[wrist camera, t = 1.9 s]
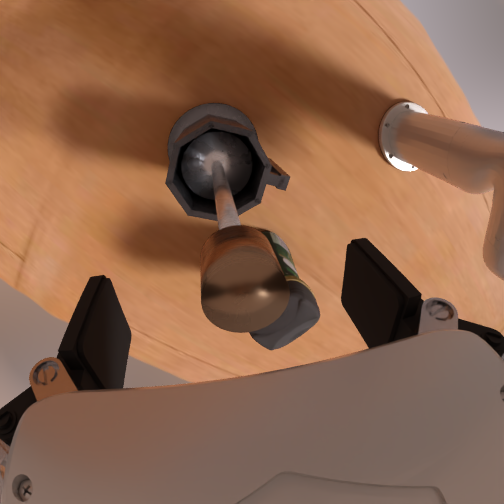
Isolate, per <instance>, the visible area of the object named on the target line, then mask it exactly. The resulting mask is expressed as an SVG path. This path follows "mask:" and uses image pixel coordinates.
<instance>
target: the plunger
mask: <svg viewBox="0 0 504 504" xmlns="http://www.w3.org/2000/svg"><path fill="white" fill-rule="evenodd" d="M251 172H252V157H251V154H250V152H249V150H248V148H247V146H246V145H245V144H244V143H243V142H242V141H241V140H240V139H239V138H238V137H236V136H235V135H232V134H230V133H227V132H222V131H213V132H208V133H205V134H203V135H201V136H199V137H197V138H196V139H195V140H193V141H192V142H191V143H190V145H189V146H188V147H187V149H186V151H185V153H184V156H183V159H182V174H183V178H184V180H185V182H186V184H187V185H188V187H189V188H190V189H191V190H192V191H193V192H194V193H196V194H197V195H199V196H201V197H203V198H206V199H211V200H215V202H216V210H217V218H218V225H219V230H218V231H217V232H215V233H214V234H212V235H211V236H210V237H209V238H208V240H207V241H206V242H205V244H204V246H203V248H202V251H201V256H200V263H201V304H202V309H203V312H204V314H205V315H206V317H207V318H208V319H209V320H210V321H211V322H212V323H213V324H214V325H216V326H217V327H219V328H221V329H224V330H227V331H230V332H239V333H243V332H252V331H256V330H259V329H262V328H264V327H266V326H268V325H270V324H271V323H273V322H274V321H276V320H277V319H278V318H279V317H280V316H281V315H282V313H283V312H284V310H285V309H286V307H287V305H288V302H289V297H290V290H289V285H288V282H287V280H286V278H285V276H284V273H283V271H282V269H281V267H280V265H279V262H278V260H277V258H276V256H275V253H274V251H273V249H272V247H271V244H270V242H269V241H268V239H267V238H266V237H265V235H264V234H262V233H261V232H260V231H258V230H257V229H255V228H252V227H249V226H244V225H241V224H240V220H239V217H238V214H237V210H236V207H235V204H234V200H233V197H232V196H233V195H235V194H237V193H238V192H239V191H241V190H242V189H243V188H244V187H245V185H246V184H247V182H248V180H249V179H250V176H251Z"/></svg>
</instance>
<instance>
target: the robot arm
mask: <svg viewBox="0 0 504 504" xmlns="http://www.w3.org/2000/svg"><path fill="white" fill-rule="evenodd" d="M379 143H380V147H381V151H382V153H383V155H384V157H385V158H386V160H387V161H388V162H389V163H390V164H391V165H392V166H394V167H395V168H397V169H400V170H402V171H413V170H416V169H420V170H422V171H425V172H427V173H429V174H431V175H433V176H435V177H437V178H439V179H441V180H443V181H445V182H447V183H449V184H451V185H453V186H455V187H457V188H459V189H461V190H463V191H465V192H468V193H471V194H483V193H487V192H489V191H492V190H494V194H493V200H492V202H493V203H492V208H491V213H490V218H489V222H488V227H487V231H486V235H485V240H484V244H483V258H484V262H485V264H486V266H487V267H488V268H489V270H490V271H491V272H492V273H494V274H495V275H496V276H498V277H499V278H501V279H502V280H504V132H500V131H496V130H492V129H488V128H484V127H480V126H477V125H473V124H469V123H465V122H461V121H457V120H453V119H449V118H444V117H440V116H435V115H430V114H428V113H427V111H426V110H425V109H424V108H423V107H421V106H420V105H418V104H416V103H412V102H400V103H397V104H395V105H393V106H392V107H391V108H389V110H388V111H387V112H386V113H385V115H384V117H383V119H382V121H381V124H380V129H379ZM421 295H422V294H421V293H420V292H419V291H418V290H417V289H416V288H415V287H414V286H413V285H412V284H411V283H410V281H409V280H408V279H407V278H406V277H405V276H404V275H403V274H402V273H401V272H400V271H399V270H398V269H397V268H396V267H395V266H394V265H393V264H392V263H391V262H390V261H389V260H388V259H387V258H386V257H385V256H384V255H383V254H382V253H381V252H380V251H379V250H378V249H377V248H376V247H375V246H374V245H373V244H372V243H371V242H370V241H369V240H368V239H366V238H361V239H354V240H352V241H351V243H350V244H348V245H347V251H346V261H345V270H344V279H343V287H342V295H341V301H342V305H343V307H344V308H345V310H346V312H347V313H348V315H349V316H350V318H351V320H352V321H353V323H354V324H355V326H356V328H357V329H358V331H359V333H360V334H361V336H362V338H363V339H364V341H365V342H366V344H367V346H368V347H369V349H365V350H362V351H358V352H354V353H351V354H347V355H343V356H339V357H335V358H331V359H327V360H323V361H318V362H314V363H310V364H305V365H300V366H296V367H291V368H286V369H281V370H276V371H270V372H265V373H259V374H253V375H247V376H241V377H235V378H228V379H221V380H213V381H205V382H197V383H188V384H179V385H167V386H155V387H140V388H123V385H124V378H125V371H126V365H127V359H128V354H129V348H130V343H131V330H130V328H129V325H128V323H127V320H126V318H125V316H124V313H123V311H122V308H121V306H120V303H119V301H118V298H117V295H116V293H115V290H114V287H113V285H112V282H111V280H110V278H106V277H105V276H104V275H100V276H93V277H90V279H89V281H88V283H87V285H86V287H85V289H84V291H83V293H82V295H81V297H80V300H79V302H78V304H77V306H76V309H75V311H74V313H73V315H72V318H71V320H70V322H69V325H68V327H67V330H66V332H65V334H64V337H63V339H62V342H61V344H60V347H59V350H58V352H59V353H58V355H57V358H54V357H49V358H45V359H43V360H41V361H39V362H38V363H37V364H36V365H35V366H34V367H33V368H32V370H31V372H30V376H29V380H30V384H31V387H29V388H28V389H27V390H25V391H24V392H22V393H21V394H20V395H18V396H17V397H16V398H14V399H13V400H12V401H10V402H9V403H8V404H6V405H5V406H4V407H2V408H1V409H0V504H504V337H503V335H502V334H501V333H500V332H498V331H497V330H494V329H492V328H489V327H485V326H482V325H478V324H475V323H472V322H468V321H465V320H461V319H458V313H457V310H456V308H455V307H454V306H453V305H452V304H451V303H450V302H448V301H447V300H444V299H441V298H429V299H427V300H425V301H423V300H422V299H421Z"/></svg>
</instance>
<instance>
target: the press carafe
mask: <svg viewBox="0 0 504 504" xmlns="http://www.w3.org/2000/svg"><path fill="white" fill-rule="evenodd" d="M213 131H222V132H227V133H230V134H232V135H235V136H236V137H238V138H239V139H240V140H241V141H242V142H243V143H244V144H245V145H246V146H247V148H248V150H249V152H250V154H251V157H252V172H251V176H250V179H249V180H248V182H247V184H246V185H245V187H244V188H243V189H242V190H241V191H239V192H238V193H237V194H235V195H233V196H232V197H233V200H234V204H235V207H236V210H237V214H238V216H239V215H241V214H242V213H244V212H246V211H247V210H249V209H251V208H253V207H254V206H256V205H258V204H260V203H261V200H262V196H263V193H264V190H265V187H266V184H269V185H273V186H275V187H276V188H277V189H281V190H285V191H286V188H287V185H288V182H289V179H290V176H289V175H288V174H287V173H286V172H284V171H283V170H282V169H281V168H280V167H279V166H278V165H277V164H276V163H275V162H274V161H272V160H271V159H270V158H267V156H266V154H265V152H264V151H263V149H262V147H261V145H260V143H259V142H258V137H257V133H256V130H255V128H254V126H253V124H252V123H251V121H250V120H249V119H248V118H247V116H246V115H244V114H243V113H242V112H241V111H239V110H238V109H236V108H234V107H232V106H229V105H226V104H220V103H208V104H203V105H200V106H197V107H194V108H193V109H191V110H189V111H188V112H186V113H185V114H184V115H182V116H181V117H180V118H179V120H178V121H177V122H176V123H175V125H174V127H173V128H172V131H171V133H170V136H169V140H168V156H169V160H170V164H169V168H168V173H167V178H166V182H165V184H166V185H167V187H168V188H169V189H170V191H171V192H172V194H173V195H174V197H175V198H176V199H177V201H178V202H179V204H180V205H181V206H182V208H183V209H184V211H185V212H186V213H187V215H188V216H194V217H199V218H204V219H209V220H215V221H218V218H217V210H216V202H215V200H211V199H206V198H203V197H201V196H199V195H197V194H196V193H194V192H193V191H192V190H191V189H190V188H189V187H188V185H187V184H186V182H185V180H184V178H183V174H182V159H183V156H184V153H185V151H186V149H187V147H188V146H189V145H190V143H191V142H192V141H193V140H195V139H196V138H197V137H199V136H201V135H203V134H205V133H208V132H213Z"/></svg>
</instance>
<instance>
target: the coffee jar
mask: <svg viewBox="0 0 504 504" xmlns="http://www.w3.org/2000/svg"><path fill="white" fill-rule="evenodd" d="M261 233H262V234H264V235H265V237H266V238H267V239H268V241H269V242H270V244H271V247H272V249H273V251H274V253H275V256H276V258H277V260H278V262H279V265H280V267H281V269H282V271H283V273H284V276H285V278H286V280H287V282H288V285H289V290H290V297H289V302H288V305H287V307H286V309H285V310H284V312H283V313H282V315H281V316H280V317H279V318H278V319H277V320H276V321H274V322H273V323H271V324H270V325H268V326H266V327H264V328H262V329H259V330H256V331H252V332H249V333H250V335H251V336H252V338H253V339H254V340H255V341H256V342H258V343H259V344H260V345H262V346H263V347H265V348H267V349H269V350H274V349H278V348H281V347H283V346H285V345H287V344H289V343H290V342H292V341H293V340H295V339H296V338H298V337H299V336H301V335H302V334H304V333H305V332H306V331H307V330H309V329H310V328H311V327H313V326H314V325H315V324H316V323H317V321H318V320H319V318H320V311H319V307H318V305H317V302H316V299H315V296H314V294H313V292H312V291H311V289H310V288H309V287H308V285H307V284H306V283H304V282H303V281H302V280H301V279H299V277H298V274H297V271H296V269H295V266H294V263H293V259H292V256H291V254H290V251H289V249H288V247H287V246H286V244H285V243H284V242H283V240H282V239H281V238H280V237H279V236H277V235H276V234H275V233H272V232H268V231H266V232H261Z"/></svg>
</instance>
